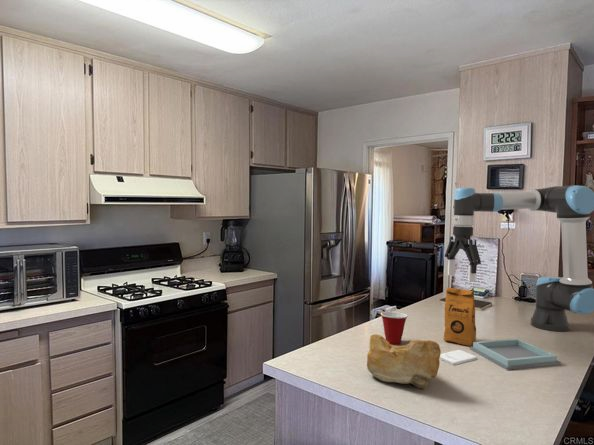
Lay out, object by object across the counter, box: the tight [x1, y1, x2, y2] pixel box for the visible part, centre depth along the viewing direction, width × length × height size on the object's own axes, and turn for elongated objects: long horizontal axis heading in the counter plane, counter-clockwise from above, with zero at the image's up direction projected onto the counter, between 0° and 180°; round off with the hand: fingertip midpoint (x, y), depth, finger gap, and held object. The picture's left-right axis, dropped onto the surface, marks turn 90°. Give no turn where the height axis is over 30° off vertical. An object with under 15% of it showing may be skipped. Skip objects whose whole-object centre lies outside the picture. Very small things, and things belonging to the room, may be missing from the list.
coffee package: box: [443, 287, 477, 347], centre depth 166 cm, size 10×12×22 cm
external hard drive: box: [439, 349, 478, 366], centre depth 150 cm, size 2×8×12 cm
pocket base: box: [469, 338, 561, 371], centre depth 152 cm, size 22×20×3 cm
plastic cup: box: [380, 311, 408, 346], centre depth 166 cm, size 11×11×12 cm
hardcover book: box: [439, 296, 493, 311], centre depth 229 cm, size 16×23×2 cm
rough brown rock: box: [366, 333, 442, 390], centre depth 132 cm, size 23×17×15 cm
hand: (461, 278), depth 165 cm, fingers open, 13 cm apart
